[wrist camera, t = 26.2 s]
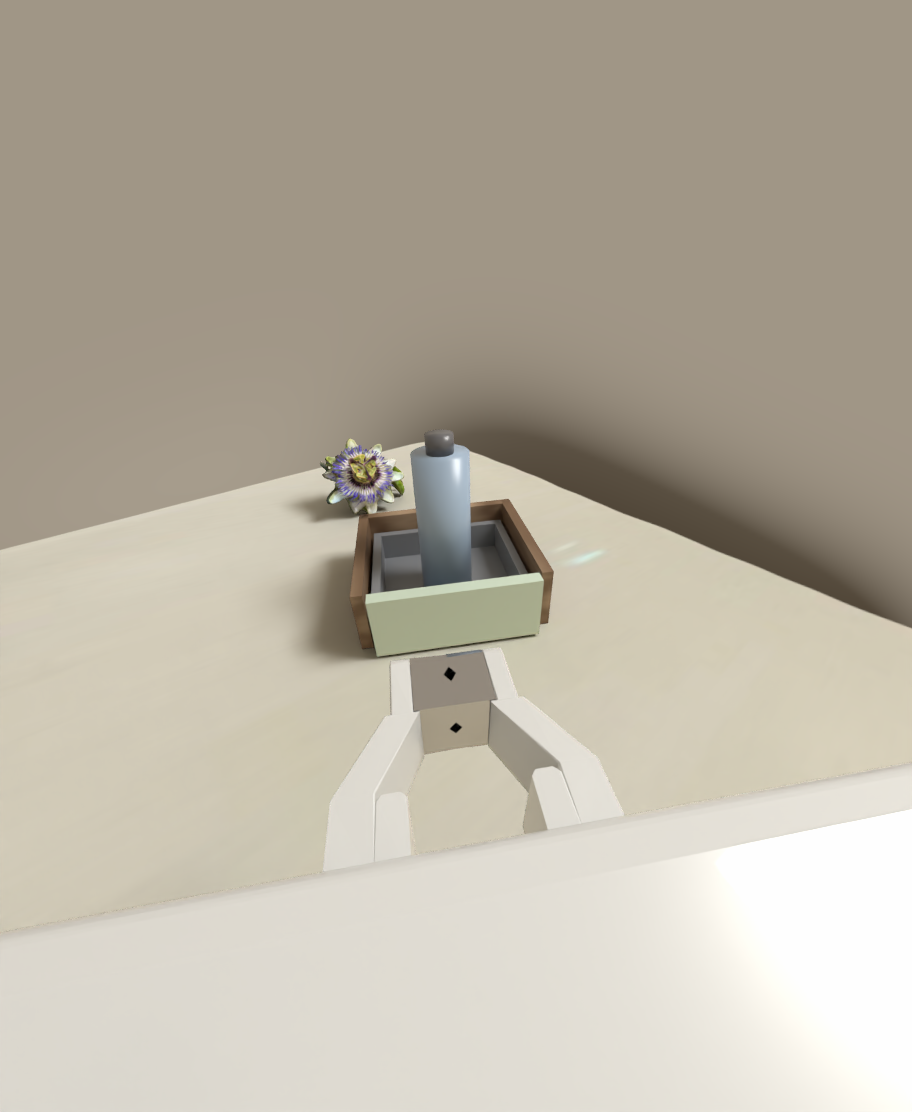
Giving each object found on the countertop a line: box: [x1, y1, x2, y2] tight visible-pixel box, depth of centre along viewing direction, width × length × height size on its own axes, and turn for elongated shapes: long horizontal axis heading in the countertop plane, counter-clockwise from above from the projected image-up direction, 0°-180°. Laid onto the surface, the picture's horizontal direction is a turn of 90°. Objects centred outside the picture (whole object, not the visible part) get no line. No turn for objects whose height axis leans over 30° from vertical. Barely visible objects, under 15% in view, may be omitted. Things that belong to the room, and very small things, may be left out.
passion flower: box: [320, 439, 404, 514], centre depth 60 cm, size 11×11×12 cm
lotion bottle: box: [410, 430, 472, 587], centre depth 37 cm, size 5×5×16 cm
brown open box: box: [350, 499, 554, 649], centre depth 41 cm, size 17×15×6 cm
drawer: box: [365, 520, 544, 657], centre depth 40 cm, size 15×15×6 cm
